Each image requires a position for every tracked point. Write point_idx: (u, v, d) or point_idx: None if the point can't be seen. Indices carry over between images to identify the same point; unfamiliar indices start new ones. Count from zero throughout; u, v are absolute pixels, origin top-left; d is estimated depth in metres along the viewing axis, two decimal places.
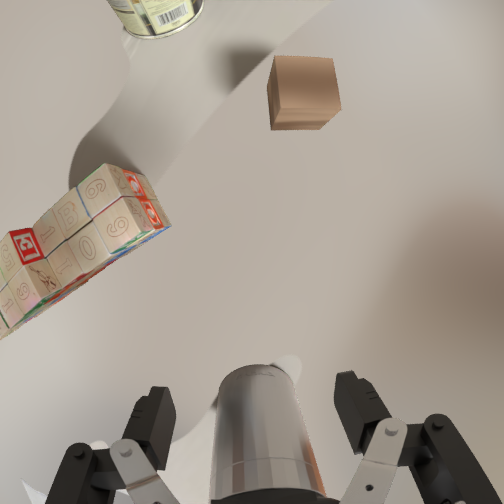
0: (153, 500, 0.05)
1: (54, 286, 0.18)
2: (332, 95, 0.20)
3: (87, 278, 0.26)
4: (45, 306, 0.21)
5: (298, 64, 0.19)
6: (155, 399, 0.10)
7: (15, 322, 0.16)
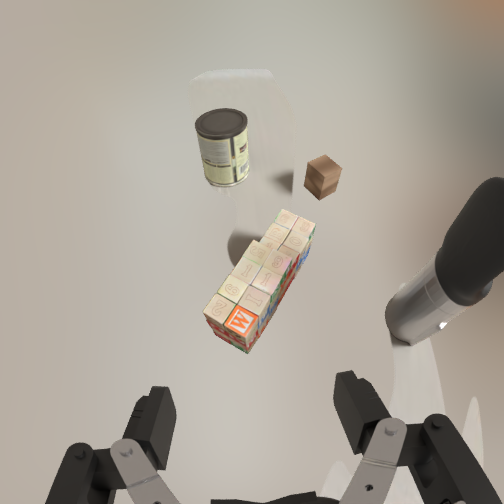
0: (153, 500, 0.05)
1: None
2: (335, 165, 0.54)
3: (283, 293, 0.45)
4: (274, 301, 0.39)
5: (317, 161, 0.55)
6: (156, 399, 0.10)
7: (276, 286, 0.35)
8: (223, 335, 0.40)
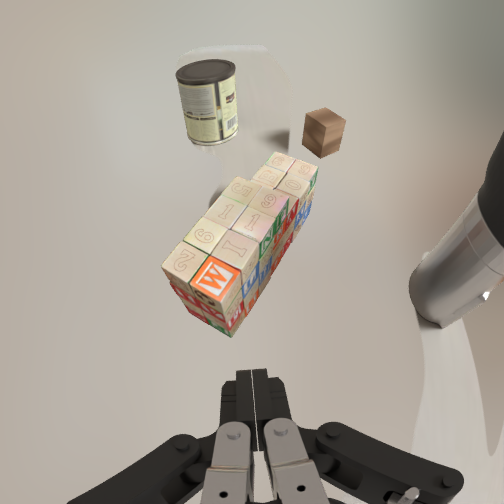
0: (223, 489, 0.06)
1: None
2: (338, 117, 0.43)
3: (278, 256, 0.34)
4: (266, 259, 0.29)
5: (317, 113, 0.44)
6: (245, 381, 0.12)
7: (266, 230, 0.25)
8: (196, 309, 0.29)
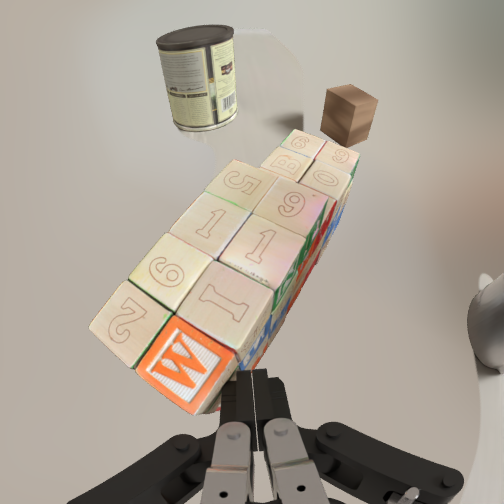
0: (223, 489, 0.06)
1: None
2: (368, 96, 0.31)
3: (298, 289, 0.22)
4: (282, 305, 0.16)
5: (341, 89, 0.32)
6: (245, 381, 0.12)
7: (289, 263, 0.12)
8: None
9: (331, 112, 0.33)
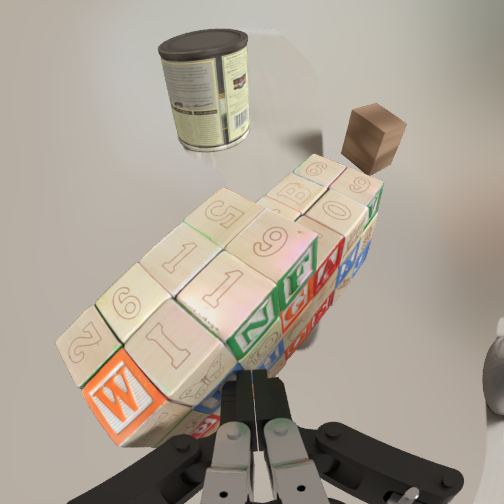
0: (223, 489, 0.06)
1: None
2: (396, 119, 0.28)
3: (300, 333, 0.19)
4: (263, 352, 0.14)
5: (367, 110, 0.28)
6: (245, 381, 0.12)
7: (248, 312, 0.10)
8: None
9: (355, 135, 0.30)
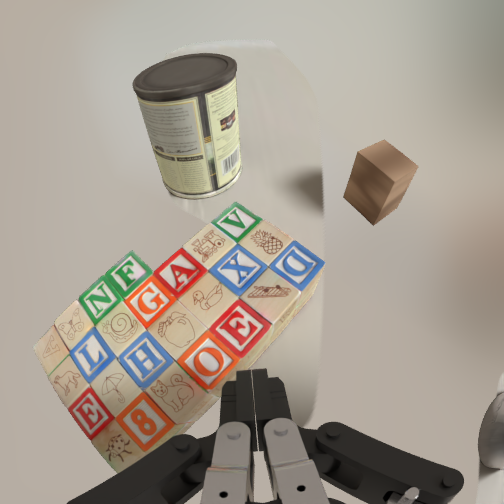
0: (223, 489, 0.06)
1: None
2: (407, 161, 0.25)
3: (197, 344, 0.17)
4: (119, 331, 0.18)
5: (374, 151, 0.26)
6: (245, 381, 0.12)
7: None
8: None
9: (360, 181, 0.28)
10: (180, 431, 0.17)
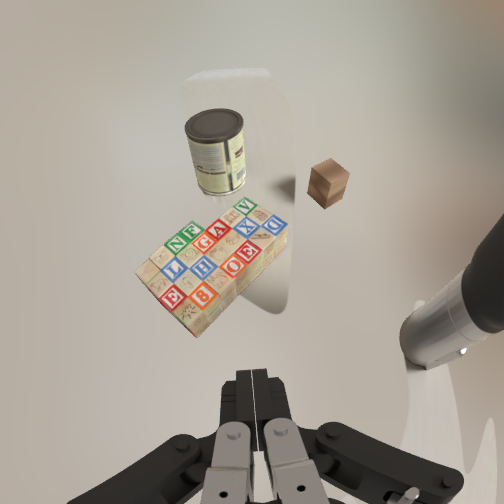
0: (223, 489, 0.06)
1: None
2: (342, 170, 0.48)
3: (228, 259, 0.40)
4: (189, 256, 0.40)
5: (322, 166, 0.49)
6: (245, 381, 0.12)
7: (170, 239, 0.42)
8: (171, 313, 0.40)
9: (314, 183, 0.51)
10: (217, 310, 0.40)
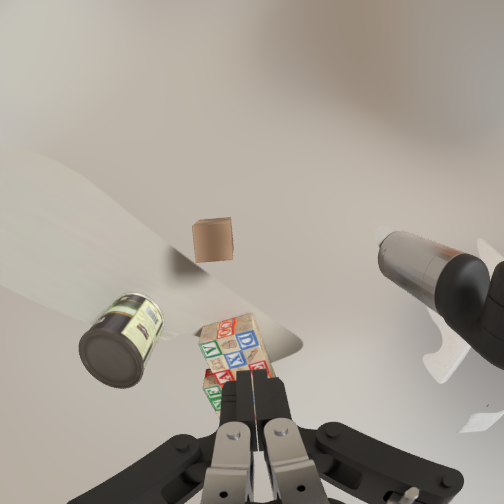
0: (223, 489, 0.06)
1: (214, 384, 0.45)
2: (220, 228, 0.37)
3: None
4: None
5: (200, 248, 0.38)
6: (245, 381, 0.12)
7: None
8: None
9: None
10: None
